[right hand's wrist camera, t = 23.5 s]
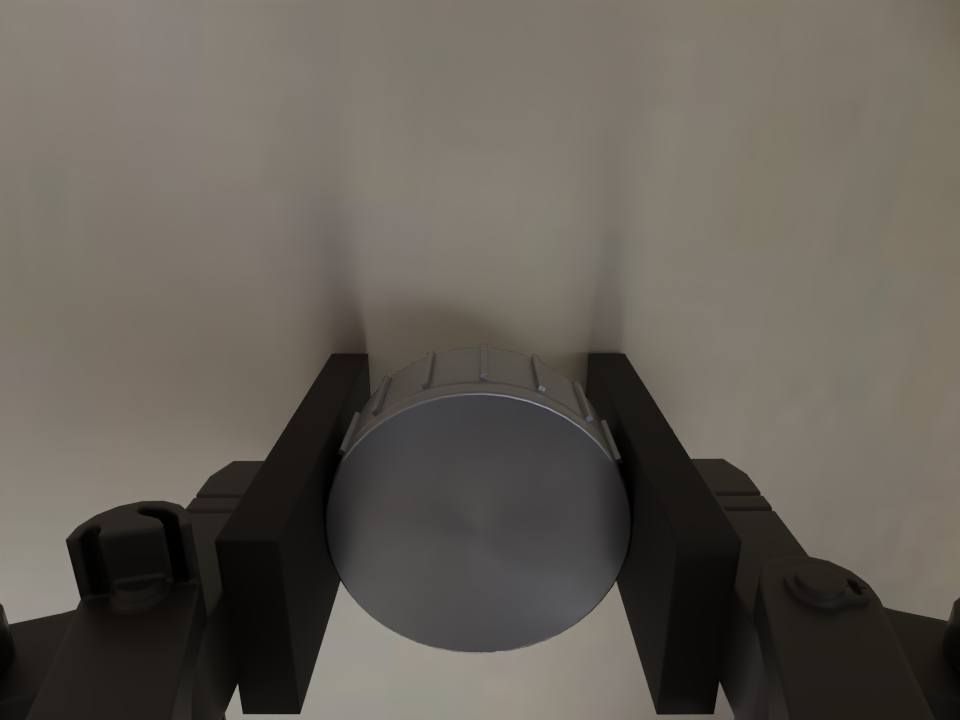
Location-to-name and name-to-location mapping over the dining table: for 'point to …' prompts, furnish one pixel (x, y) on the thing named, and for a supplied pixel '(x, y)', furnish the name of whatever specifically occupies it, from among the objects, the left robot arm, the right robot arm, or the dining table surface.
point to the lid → (478, 503)
